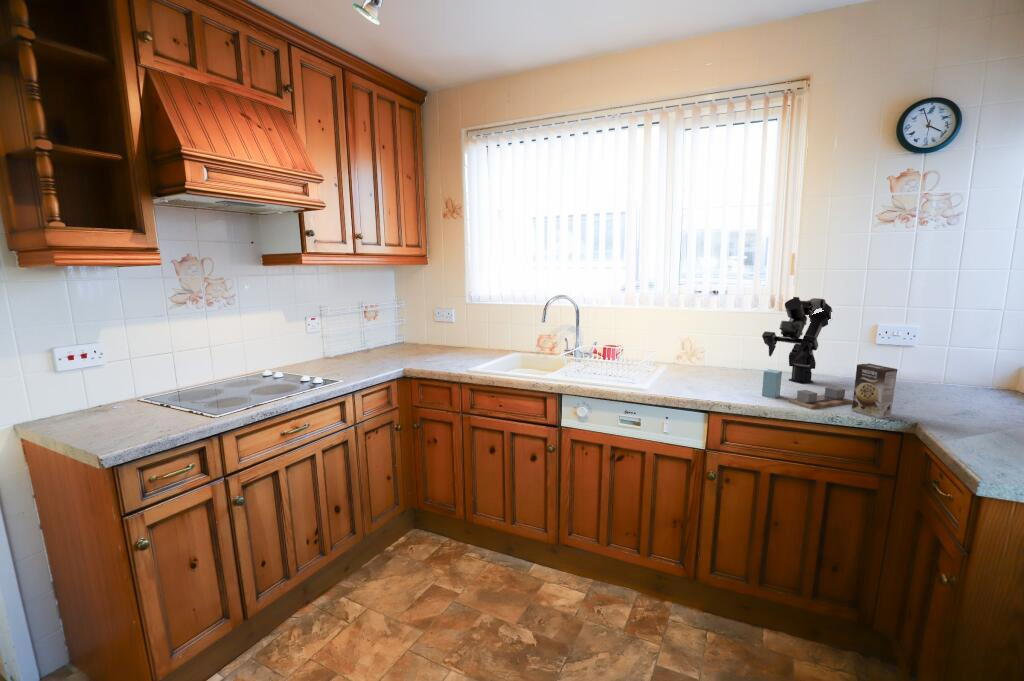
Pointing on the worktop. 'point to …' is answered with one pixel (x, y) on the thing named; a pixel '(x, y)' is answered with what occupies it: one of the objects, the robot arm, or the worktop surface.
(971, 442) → the worktop surface
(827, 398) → the rail
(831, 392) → the mounted modules
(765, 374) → the block
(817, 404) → the board
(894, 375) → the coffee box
